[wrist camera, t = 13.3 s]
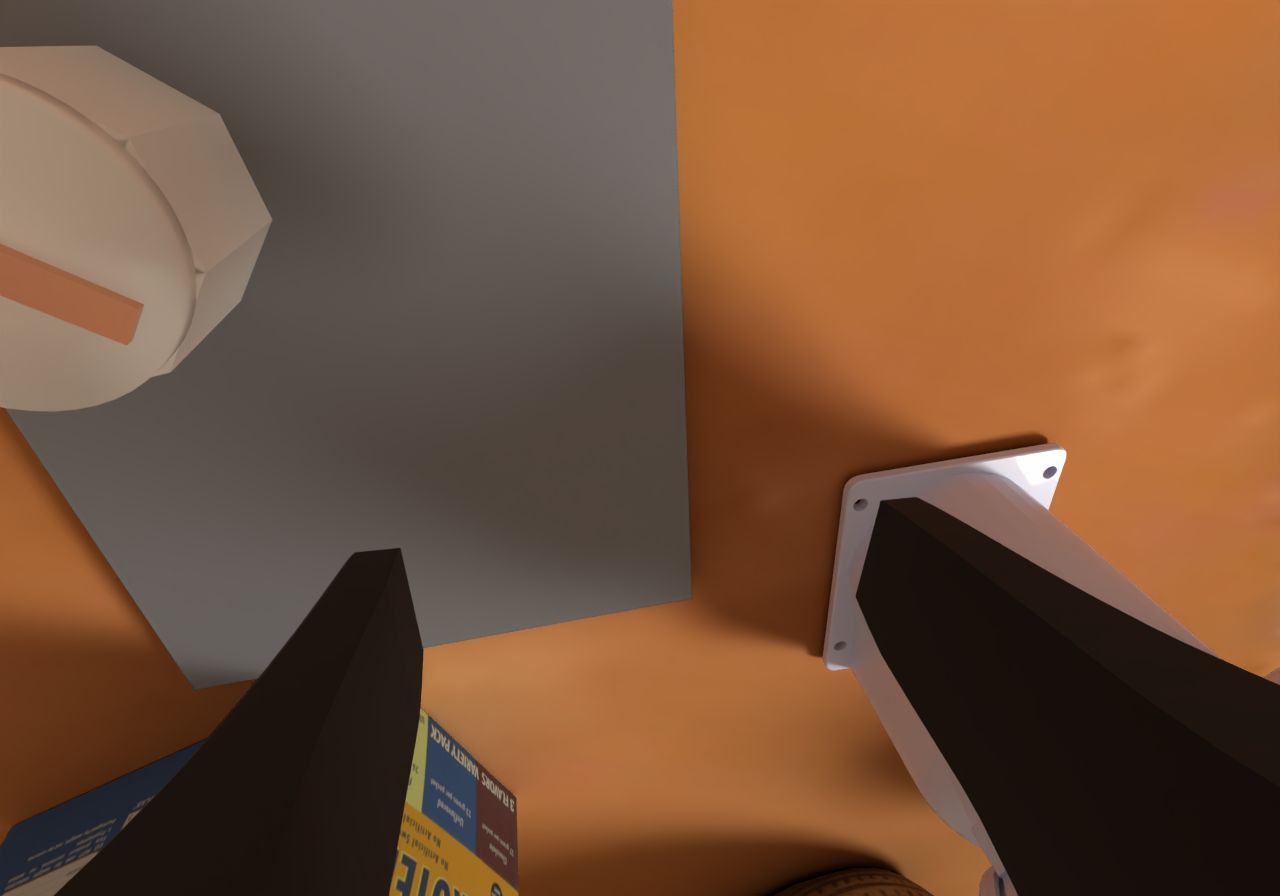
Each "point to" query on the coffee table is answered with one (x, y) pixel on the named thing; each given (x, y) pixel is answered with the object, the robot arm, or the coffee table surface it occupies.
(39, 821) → the protein box
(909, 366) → the coffee table surface
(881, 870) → the ceramic vessel
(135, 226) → the cap
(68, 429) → the base
